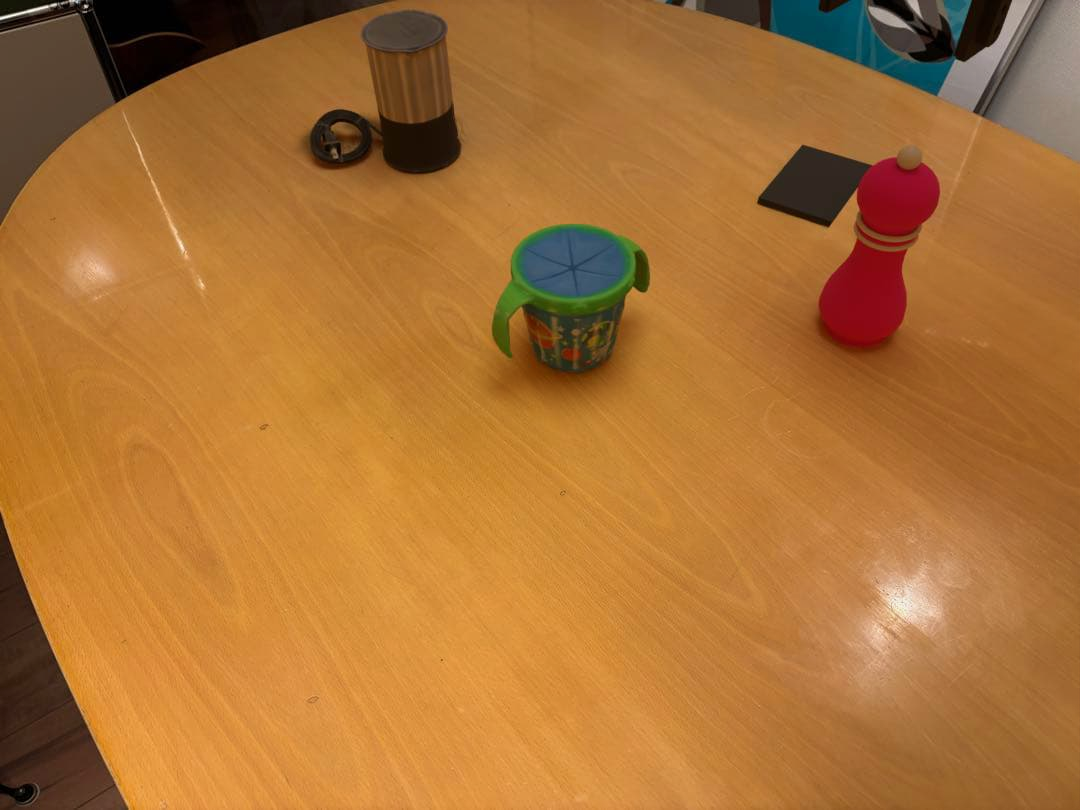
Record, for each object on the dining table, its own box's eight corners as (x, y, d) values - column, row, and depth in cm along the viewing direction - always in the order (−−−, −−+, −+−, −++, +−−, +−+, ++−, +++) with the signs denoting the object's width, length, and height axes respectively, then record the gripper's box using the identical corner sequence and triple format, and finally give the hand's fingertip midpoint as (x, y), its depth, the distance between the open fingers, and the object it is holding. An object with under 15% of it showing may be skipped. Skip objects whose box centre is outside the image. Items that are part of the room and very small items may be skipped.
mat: (979, 203, 92) (982, 197, 92) (945, 265, 86) (947, 259, 85) (801, 150, 100) (802, 144, 100) (757, 203, 94) (758, 197, 93)
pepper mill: (807, 311, 82) (857, 119, 67) (886, 316, 81) (955, 123, 66) (812, 366, 77) (867, 172, 62) (896, 372, 77) (973, 177, 62)
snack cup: (616, 286, 85) (619, 199, 78) (676, 352, 79) (687, 264, 72) (472, 342, 81) (461, 255, 73) (524, 416, 75) (518, 330, 67)
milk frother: (476, 156, 101) (464, 31, 90) (355, 205, 96) (325, 78, 85) (417, 106, 110) (399, -14, 98) (302, 148, 104) (269, 25, 93)
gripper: (1213, -308, 40) (1060, 51, 53) (882, -344, 49) (820, -28, 62) (1143, -277, 37) (998, 98, 50) (802, -321, 46) (754, 7, 58)
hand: (900, 28), depth 56 cm, fingers open, 9 cm apart
